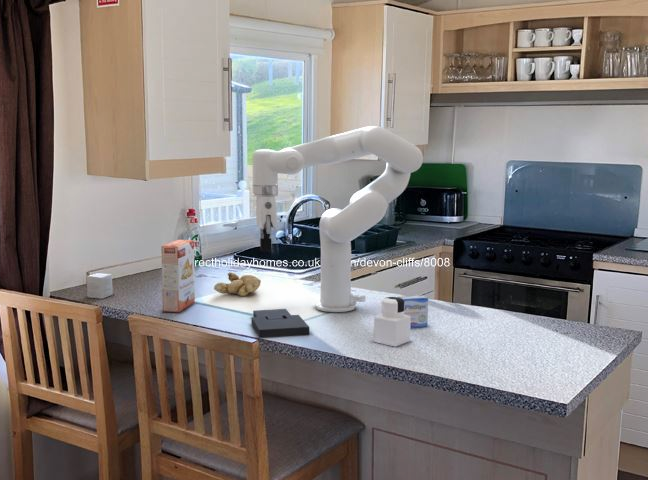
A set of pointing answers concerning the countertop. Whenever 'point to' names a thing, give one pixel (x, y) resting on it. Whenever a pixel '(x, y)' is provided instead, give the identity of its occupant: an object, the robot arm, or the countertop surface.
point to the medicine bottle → (392, 323)
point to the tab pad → (271, 313)
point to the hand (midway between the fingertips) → (265, 250)
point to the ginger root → (238, 285)
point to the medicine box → (416, 310)
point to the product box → (99, 285)
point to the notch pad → (280, 326)
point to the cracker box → (178, 275)
